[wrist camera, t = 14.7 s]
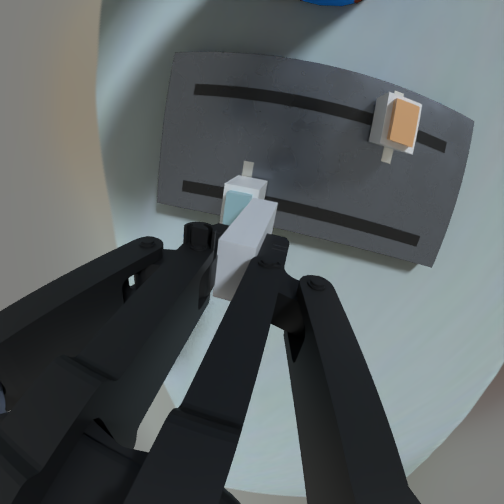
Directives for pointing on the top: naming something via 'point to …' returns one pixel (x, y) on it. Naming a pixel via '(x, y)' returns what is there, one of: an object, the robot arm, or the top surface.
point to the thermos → (332, 2)
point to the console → (310, 151)
